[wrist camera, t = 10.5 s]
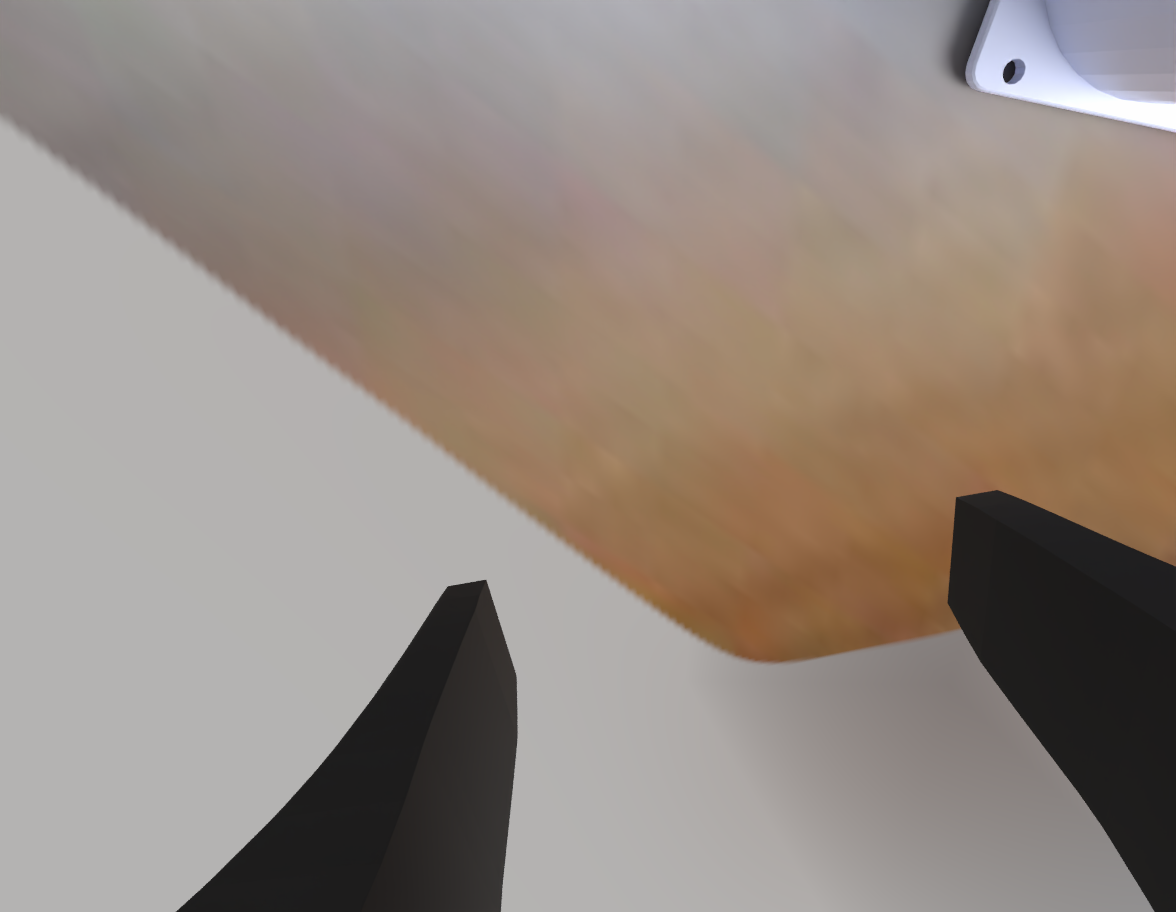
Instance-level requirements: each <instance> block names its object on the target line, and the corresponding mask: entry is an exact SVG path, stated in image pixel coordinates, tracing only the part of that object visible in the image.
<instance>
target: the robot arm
mask: <svg viewBox="0 0 1176 912" xmlns="http://www.w3.org/2000/svg"><path fill="white" fill-rule="evenodd" d="M1011 60H1012V61H1013V62H1014V64H1015V67H1016V69H1015V74H1014V76H1013V77H1012V79H1011V80H1010V81H1009V82H1007V83H1006V82H1004V79H1003V70H1004V68H1005V66H1006V65H1007V63H1008V62H1010V61H1011ZM965 75H966V81H967V83H968V84H969V86H970V87H971V88H972V89H974V90H976V91H980V92H985V93H989V94H994V95H999V96H1004V97H1008V98H1013V99H1018V100H1023V101H1027V102H1032V103H1037V104H1042V105H1047V106H1051V107H1056V108H1061V109H1066V110H1070V111H1075V112H1080V113H1085V114H1089V115H1094V116H1099V117H1104V118H1108V119H1113V120H1118V121H1123V122H1127V123H1132V124H1137V125H1142V126H1146V127H1151V128H1156V129H1161V130H1165V131H1170V132H1175V133H1176V0H990V3H989V6H988V8H987V11H986V14H985V16H984V19H983V22H982V25H981V27H980V30H979V33H978V35H977V38H976V41H975V44H974V46H973V49H972V52H971V54H970V57H969V60H968V62H967V67H966V72H965ZM948 604H949V606H950V608H951V610H952V612H953V614H954V616H955V617H956V619H957V621H958V623H959V625H960V627H961V629H962V630H963V632H964V634H965V636H966V638H967V639H968V641H969V643H970V644H971V646H972V648H973V649H974V651H975V653H976V655H977V656H978V658H979V660H980V662H981V663H982V664H983V666H984V667H985V668H986V670H987V671H988V673H989V674H990V675H991V677H992V678H993V679H994V681H995V682H996V684H997V685H998V686H999V688H1000V689H1001V690H1002V692H1003V693H1004V694H1005V696H1006V697H1007V698H1008V700H1009V701H1010V702H1011V704H1012V705H1013V707H1014V708H1015V709H1016V711H1017V712H1018V713H1019V714H1020V716H1021V717H1022V718H1023V720H1024V721H1025V722H1026V724H1027V725H1028V726H1029V728H1030V729H1031V730H1032V732H1033V733H1034V734H1035V736H1036V737H1037V738H1038V740H1039V741H1040V742H1041V744H1042V745H1043V746H1044V748H1045V749H1046V750H1047V752H1048V753H1049V754H1050V756H1051V757H1052V758H1053V759H1054V761H1055V762H1056V764H1057V765H1058V766H1059V768H1060V769H1061V770H1062V771H1063V773H1064V774H1065V775H1066V777H1067V778H1068V779H1069V781H1070V782H1071V783H1072V785H1073V786H1074V787H1075V788H1076V790H1077V791H1078V793H1079V794H1080V795H1081V797H1082V798H1083V800H1084V801H1085V803H1086V804H1087V805H1088V807H1089V808H1090V810H1091V811H1092V813H1093V814H1094V815H1095V817H1096V818H1097V820H1098V821H1099V822H1100V824H1101V825H1102V827H1103V828H1104V830H1105V832H1106V833H1107V835H1108V836H1109V838H1110V840H1111V841H1112V843H1113V844H1114V846H1115V848H1116V849H1117V851H1118V853H1119V854H1120V856H1121V857H1122V859H1123V861H1124V862H1125V864H1126V866H1127V867H1128V869H1129V870H1130V872H1131V874H1132V875H1133V877H1134V879H1135V880H1136V882H1137V883H1138V885H1139V887H1140V888H1141V890H1142V892H1143V893H1144V895H1145V896H1146V898H1147V900H1148V901H1149V903H1150V905H1151V906H1152V908H1153V910H1154V911H1155V912H1176V567H1175V566H1173V565H1171V564H1168V563H1166V562H1163V561H1161V560H1159V559H1156V558H1154V557H1152V556H1149V555H1147V554H1144V553H1142V552H1140V551H1138V550H1135V549H1133V548H1131V547H1128V546H1126V545H1124V544H1121V543H1119V542H1117V541H1115V540H1112V539H1110V538H1108V537H1106V536H1103V535H1101V534H1099V533H1097V532H1094V531H1092V530H1090V529H1088V528H1085V527H1083V526H1081V525H1079V524H1076V523H1074V522H1072V521H1070V520H1067V519H1065V518H1063V517H1061V516H1058V515H1056V514H1054V513H1052V512H1049V511H1047V510H1045V509H1043V508H1040V507H1038V506H1036V505H1033V504H1031V503H1029V502H1026V501H1024V500H1022V499H1019V498H1017V497H1014V496H1012V495H1009V494H1006V493H1004V492H1001V491H998V490H996V491H990V492H984V493H978V494H973V495H967V496H961V497H956V505H955V518H954V530H953V543H952V555H951V568H950V580H949V593H948ZM516 748H517V679H516V673H515V670H514V666H513V663H512V660H511V657H510V654H509V651H508V647H507V644H506V641H505V638H504V635H503V632H502V628H501V625H500V622H499V619H498V616H497V613H496V609H495V606H494V603H493V600H492V597H491V594H490V590H489V587H488V584H487V581H486V580H482V581H476V582H470V583H465V584H459V585H453V586H448V587H447V588H446V590H445V591H444V593H443V594H442V595H441V597H440V598H439V600H438V601H437V603H436V604H435V606H434V607H433V609H432V611H431V612H430V614H429V616H428V617H427V618H426V620H425V622H424V623H423V625H422V626H421V628H420V629H419V631H418V632H417V634H416V635H415V637H414V639H413V640H412V642H411V643H410V645H409V646H408V648H407V649H406V651H405V652H404V654H403V655H402V657H401V658H400V660H399V661H398V663H397V664H396V665H395V667H394V668H393V670H392V671H391V673H390V674H389V676H388V677H387V678H386V680H385V681H384V683H383V684H382V686H381V687H380V689H379V690H378V691H377V693H376V694H375V696H374V697H373V698H372V700H371V701H370V703H369V704H368V705H367V707H366V708H365V709H364V711H363V712H362V713H361V714H360V716H359V717H358V718H357V720H356V721H355V722H354V724H353V725H352V726H351V728H350V729H349V730H348V731H347V733H346V734H345V735H344V737H343V738H342V739H341V741H340V742H339V743H338V745H337V746H336V747H335V749H334V750H333V751H332V752H331V753H330V754H329V756H328V757H327V758H326V759H325V761H324V762H323V763H322V764H321V765H320V767H319V768H318V769H317V770H316V771H315V772H314V774H313V775H312V776H311V777H310V778H309V779H308V780H307V781H306V783H305V784H304V785H303V786H302V787H301V788H300V789H299V791H298V792H297V793H296V794H295V795H294V796H293V797H292V798H291V799H290V800H289V801H288V803H287V804H286V805H285V806H284V807H283V808H282V809H281V810H280V811H279V812H278V813H277V815H275V817H274V818H273V819H272V820H271V821H270V822H269V823H268V824H267V825H266V826H265V827H264V828H263V829H262V830H261V831H260V832H259V833H258V834H257V835H256V836H255V837H254V838H253V839H252V840H251V841H250V842H249V843H248V844H247V845H246V846H245V847H244V848H243V849H242V850H241V851H239V853H238V854H236V855H235V856H234V857H233V858H232V859H231V860H230V861H229V862H228V863H227V864H226V865H225V866H224V868H223V869H221V870H220V871H219V872H218V873H217V874H216V876H214V877H213V878H212V879H211V880H210V881H209V882H208V883H207V884H206V885H205V886H204V887H203V888H202V889H201V890H200V891H198V892H197V893H196V894H195V895H194V896H193V897H192V898H191V899H190V900H188V901H187V902H186V903H185V904H184V905H183V906H182V907H181V908H180V909H179V910H177V911H176V912H501V899H502V885H503V874H504V866H505V856H506V845H507V837H508V827H509V818H510V808H511V798H512V789H513V779H514V769H515V758H516Z"/></svg>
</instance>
